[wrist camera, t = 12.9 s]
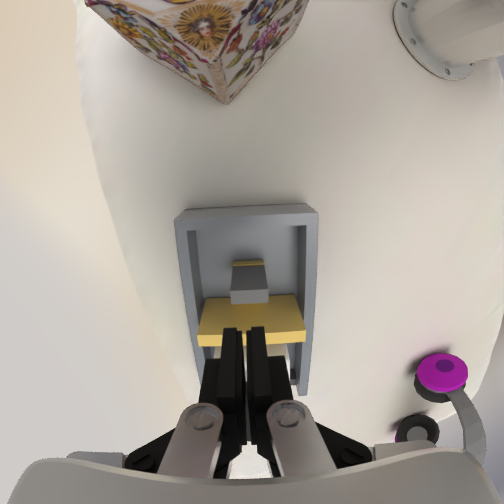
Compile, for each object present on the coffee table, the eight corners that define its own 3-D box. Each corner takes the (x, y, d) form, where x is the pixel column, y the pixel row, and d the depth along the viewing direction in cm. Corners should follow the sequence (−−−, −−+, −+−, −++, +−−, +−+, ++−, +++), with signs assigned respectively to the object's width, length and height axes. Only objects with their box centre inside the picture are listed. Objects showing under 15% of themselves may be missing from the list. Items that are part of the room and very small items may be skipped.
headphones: (408, 356, 35) (473, 457, 16) (452, 341, 35) (521, 423, 16) (386, 433, 42) (418, 513, 23) (424, 419, 42) (461, 491, 23)
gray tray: (185, 209, 28) (173, 219, 23) (306, 203, 28) (318, 213, 23) (207, 372, 35) (203, 399, 30) (300, 368, 35) (306, 395, 30)
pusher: (202, 262, 28) (190, 293, 22) (294, 258, 28) (308, 287, 22) (207, 308, 30) (198, 346, 24) (294, 304, 30) (305, 341, 24)
